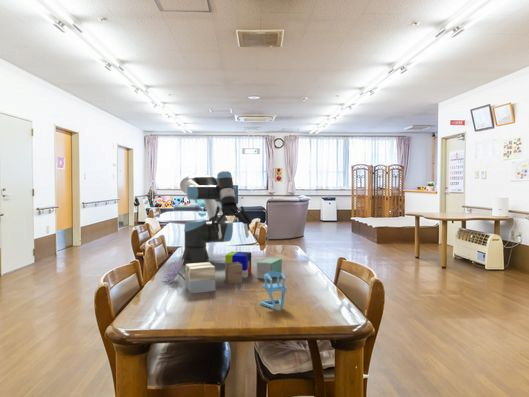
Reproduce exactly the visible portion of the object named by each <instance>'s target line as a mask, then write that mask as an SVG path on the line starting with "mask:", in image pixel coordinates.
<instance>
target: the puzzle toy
mask: <svg viewBox="0 0 529 397" xmlns="http://www.w3.org/2000/svg"><path fill="white" fill-rule="evenodd" d="M224 256H225V260H224V261H225V263H232V262H239V263H240V264H242V278H248V276H250V274H251V273H252V252H251V251H230V252H228V253H226V254H225V255H224ZM225 263H224V264H225Z"/></svg>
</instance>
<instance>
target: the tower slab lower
mask: <svg viewBox="0 0 529 397" xmlns="http://www.w3.org/2000/svg"><path fill="white" fill-rule="evenodd" d="M185 287H186V289H187V290H188V292H189V294H198V293H208V292H215V291H216V278H215V279H212V280H202V281H191V282H190V281H189V279H188V278H187V277H186V276H185Z"/></svg>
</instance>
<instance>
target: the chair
mask: <svg viewBox="0 0 529 397" xmlns="http://www.w3.org/2000/svg"><path fill="white" fill-rule="evenodd" d="M271 277H274V278H276V283H273V278H271ZM280 277H281V278H282V280H283V281H282V283H280ZM266 278H268V279H266ZM263 280H264V284H262V288H263V289H265V290H266V293H267V294H268V295H269V296H268V297H269V298H270V299H269V300H262V301H260V302H259V303H260V304H259V305H261V306H264V307H266V306H267V308H269V307H270V308H269V309H271V310H274V309H275V310H274V311H277V310H278V306H277V304H276V303H278V305H280V306H279V308H280V309H281V310H284V309H285V307H284V305H285V297H286V296H285V295H286V291H287V290H288V287H287V286H286V285H285V283H286V280H287V278H286V276H285V274H284V273H283V272H282V273H280V272H275V271H270V272H268V273H266V274H265V275H264V279H263ZM268 282H269V283H268ZM274 292H281V299H278V298H277V299H274V297H273V294H272V293H274ZM283 308H284V309H283Z"/></svg>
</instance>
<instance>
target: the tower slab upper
mask: <svg viewBox="0 0 529 397" xmlns="http://www.w3.org/2000/svg"><path fill="white" fill-rule="evenodd" d="M186 277H187V278H188V279H189V281H190V282H191V281H202V280H212V279H215V280H216V267H215V266H214V265H213V264H212V263H211V262H210V261H209V262H205V263H191V264H186V265H185V278H186Z"/></svg>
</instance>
